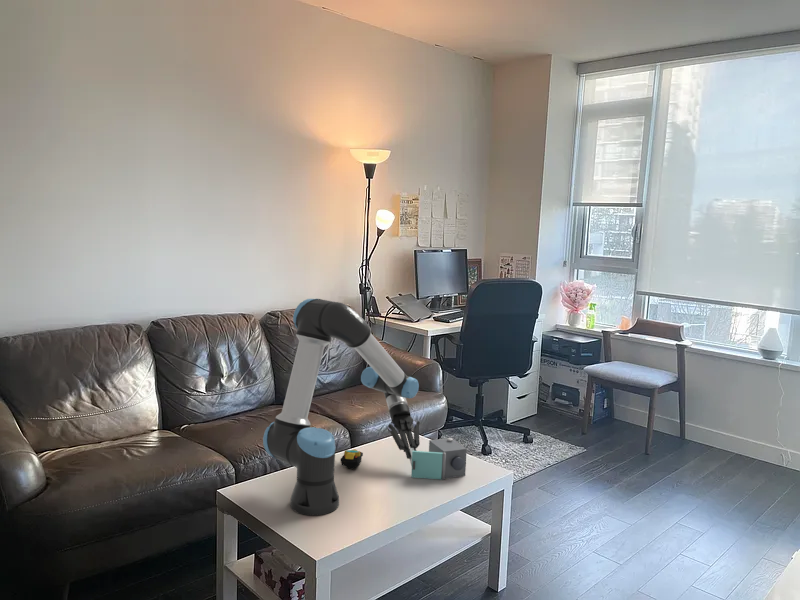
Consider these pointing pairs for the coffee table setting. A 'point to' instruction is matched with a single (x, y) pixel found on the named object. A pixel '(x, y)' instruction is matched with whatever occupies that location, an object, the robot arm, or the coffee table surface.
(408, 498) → the coffee table surface
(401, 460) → the coffee table surface
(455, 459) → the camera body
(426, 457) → the side door
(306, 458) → the robot arm
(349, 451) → the gadget
